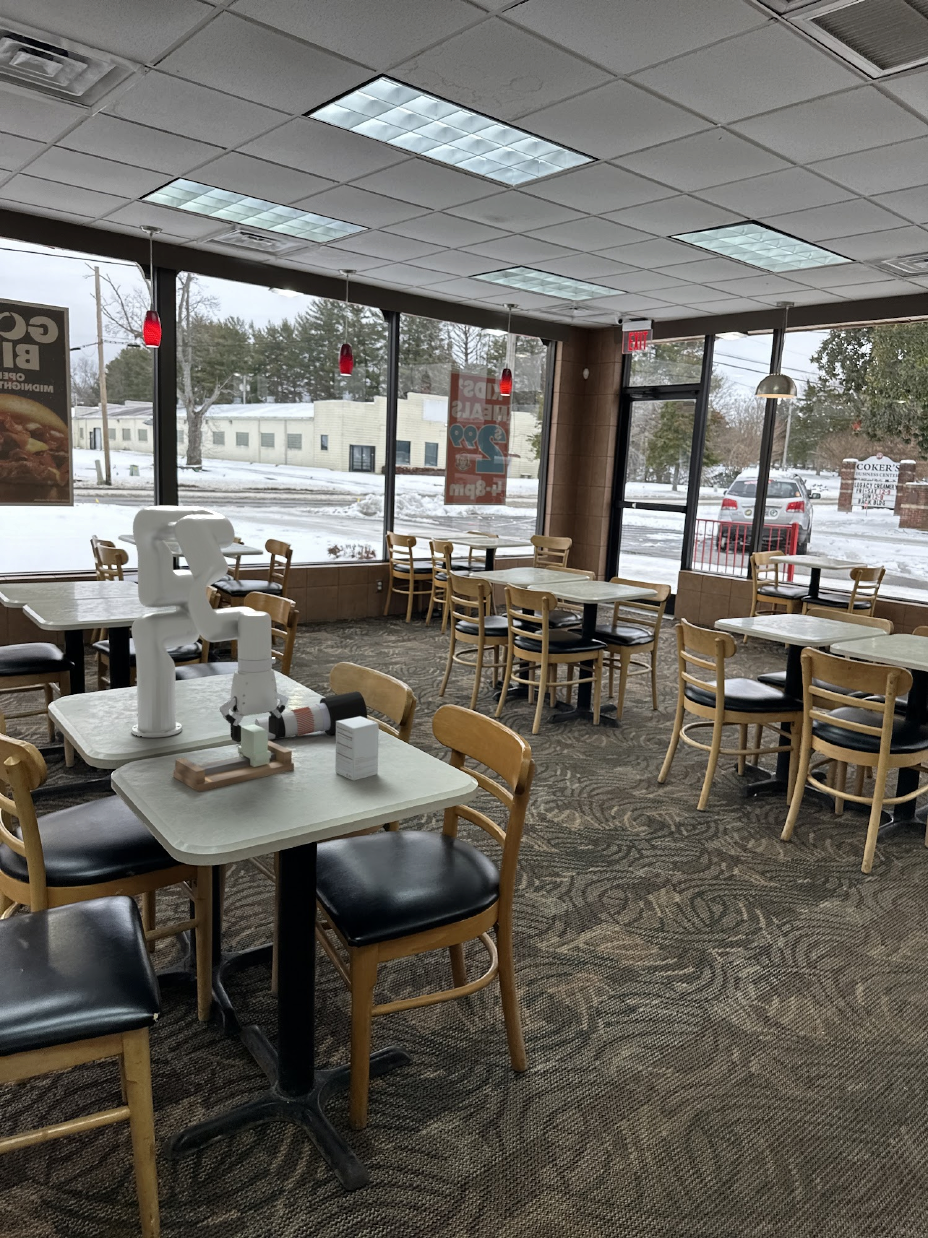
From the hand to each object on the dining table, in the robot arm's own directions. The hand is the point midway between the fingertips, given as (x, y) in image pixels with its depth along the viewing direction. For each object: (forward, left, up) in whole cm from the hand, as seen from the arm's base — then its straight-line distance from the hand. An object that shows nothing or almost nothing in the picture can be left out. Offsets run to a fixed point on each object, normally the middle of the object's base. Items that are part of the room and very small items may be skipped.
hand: (255, 737), depth 200 cm
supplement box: (+17, +17, -8) cm, 25 cm away
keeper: (0, 0, -6) cm, 6 cm away
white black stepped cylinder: (-16, +23, -8) cm, 29 cm away
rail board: (0, -5, -8) cm, 9 cm away
